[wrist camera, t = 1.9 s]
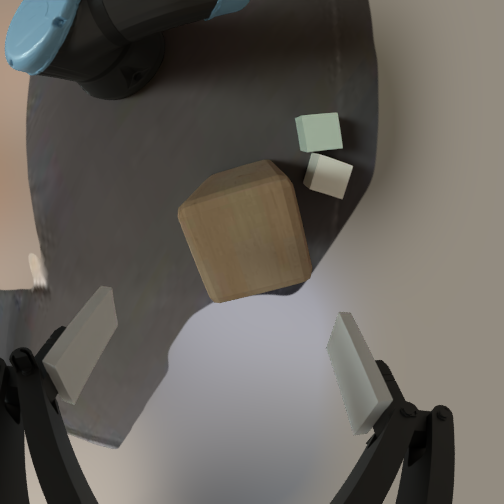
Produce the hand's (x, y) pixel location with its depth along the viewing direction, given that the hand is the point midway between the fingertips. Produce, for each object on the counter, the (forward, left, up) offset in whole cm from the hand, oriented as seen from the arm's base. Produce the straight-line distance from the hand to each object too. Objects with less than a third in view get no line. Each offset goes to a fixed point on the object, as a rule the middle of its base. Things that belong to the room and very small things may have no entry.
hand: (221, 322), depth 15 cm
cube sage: (-12, +10, -29) cm, 33 cm away
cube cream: (-6, +12, -29) cm, 32 cm away
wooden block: (-1, +1, -29) cm, 29 cm away
